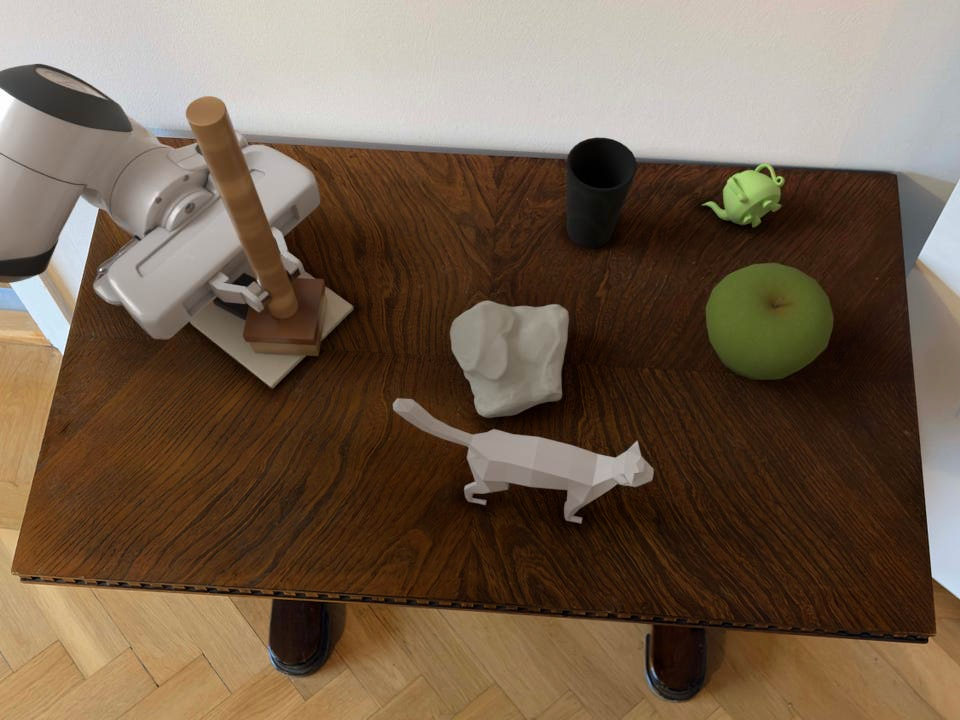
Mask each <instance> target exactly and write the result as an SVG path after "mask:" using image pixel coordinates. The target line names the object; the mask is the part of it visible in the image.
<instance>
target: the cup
mask: <svg viewBox="0 0 960 720" xmlns="http://www.w3.org/2000/svg"><path fill="white" fill-rule="evenodd" d="M637 167H638V164H637V159H636V157H635V154H634V153H633V152H632V151H631V150H630V149H629V147H628V146H626V144H623V143H622V142H620V141H619V140H615V139H614V138H608V137H597V136H596V137H591V138H587V139H584V140H581V141H579V142H578V143H576V144H575V145H574V146H573V147H572V148H571V149H570V151H569V153H568V155H567V157H566V233H567V236H568V238H569V239H570V240H571V242H572V243H574V244H576V245H577V246H579V247H582V248H586V249H596V248H599V247H603V246H604V245H605V244H607V243H608V242H609V241H610V239H611V238H612V236H613V233H614V230H615V227H616V225H617V222H618V220H619V217H620V215H621V212H622V209H623V207H624V204H625V202H626V199H627V197H628V194H629V191H630V189H631V186H632V184H633V181H634V180H635V179H634V178H635V176H636V174H637V170H638V169H637Z"/></svg>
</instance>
